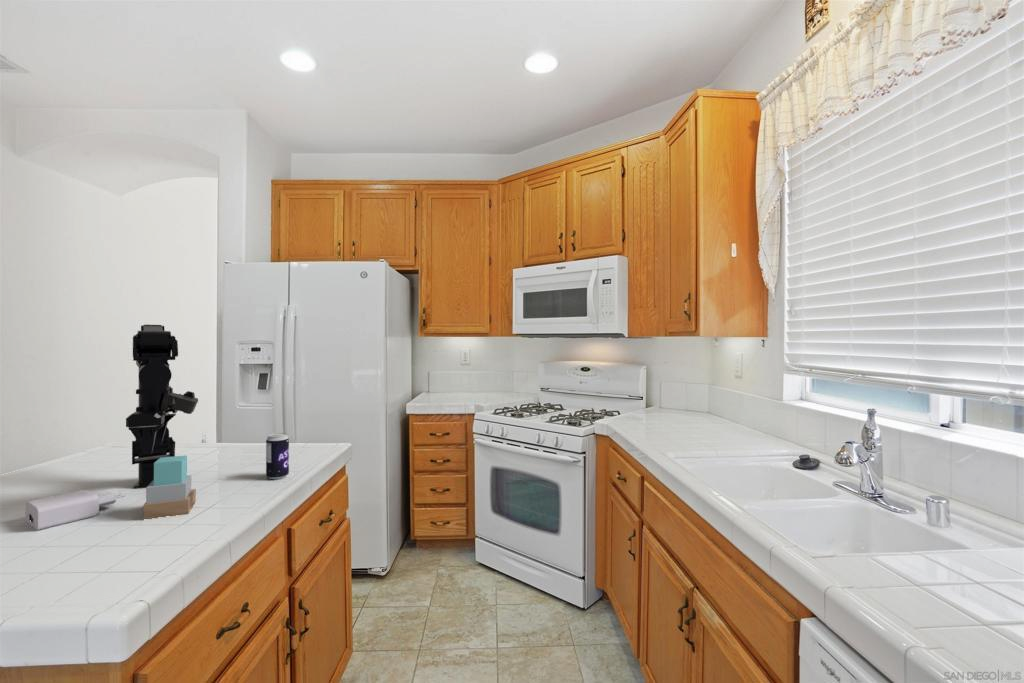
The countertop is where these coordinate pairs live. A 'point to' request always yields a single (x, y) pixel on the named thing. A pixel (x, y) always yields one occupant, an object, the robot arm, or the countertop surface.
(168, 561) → the countertop surface
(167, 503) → the tower base
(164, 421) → the robot arm
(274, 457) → the beverage can
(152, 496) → the tower top
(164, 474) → the teal cube
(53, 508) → the charger
